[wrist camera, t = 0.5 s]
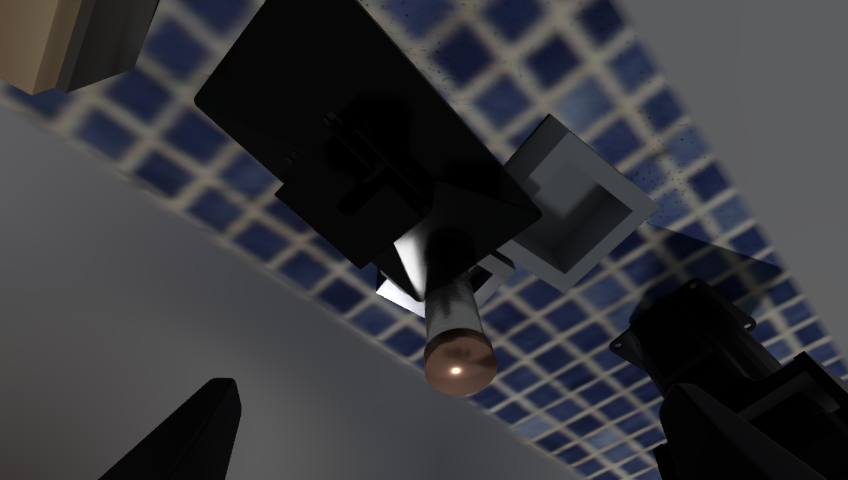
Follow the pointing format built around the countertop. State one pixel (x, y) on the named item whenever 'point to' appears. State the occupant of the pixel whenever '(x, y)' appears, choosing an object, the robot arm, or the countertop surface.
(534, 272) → the tray
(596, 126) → the countertop surface
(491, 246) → the build plate
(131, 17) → the rail
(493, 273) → the pin socket
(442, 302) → the pin
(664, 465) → the robot arm
